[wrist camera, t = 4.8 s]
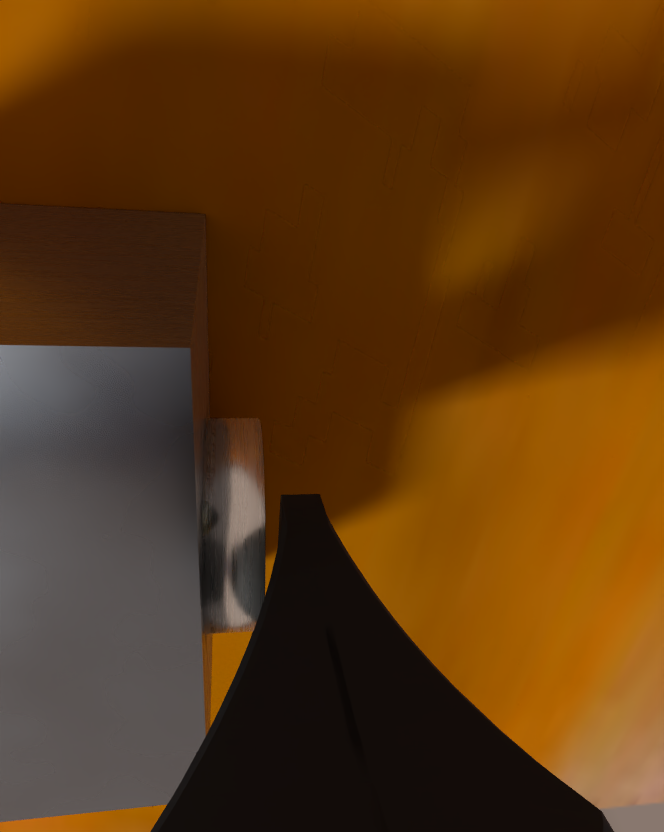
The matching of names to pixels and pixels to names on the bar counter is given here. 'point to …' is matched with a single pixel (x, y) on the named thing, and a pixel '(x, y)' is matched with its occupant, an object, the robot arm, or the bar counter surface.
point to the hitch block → (101, 507)
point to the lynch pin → (233, 524)
